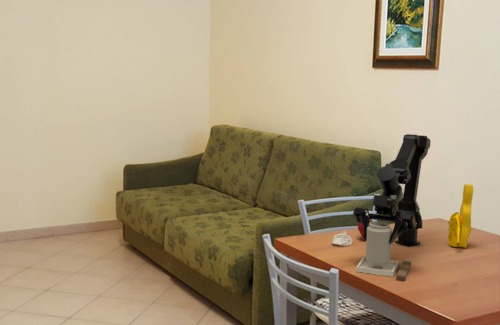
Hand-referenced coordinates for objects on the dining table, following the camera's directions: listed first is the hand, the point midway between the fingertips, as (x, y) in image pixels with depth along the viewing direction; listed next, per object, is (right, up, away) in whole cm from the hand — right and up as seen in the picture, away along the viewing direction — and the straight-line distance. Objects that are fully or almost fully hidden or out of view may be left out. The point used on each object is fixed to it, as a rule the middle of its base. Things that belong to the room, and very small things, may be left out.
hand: (377, 241), depth 177 cm
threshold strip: (+8, -9, -1) cm, 12 cm away
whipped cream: (-7, -5, +29) cm, 31 cm away
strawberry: (+3, -4, +35) cm, 36 cm away
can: (+1, -7, +2) cm, 7 cm away
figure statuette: (+35, -6, +28) cm, 45 cm away
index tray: (+1, -9, +2) cm, 9 cm away
